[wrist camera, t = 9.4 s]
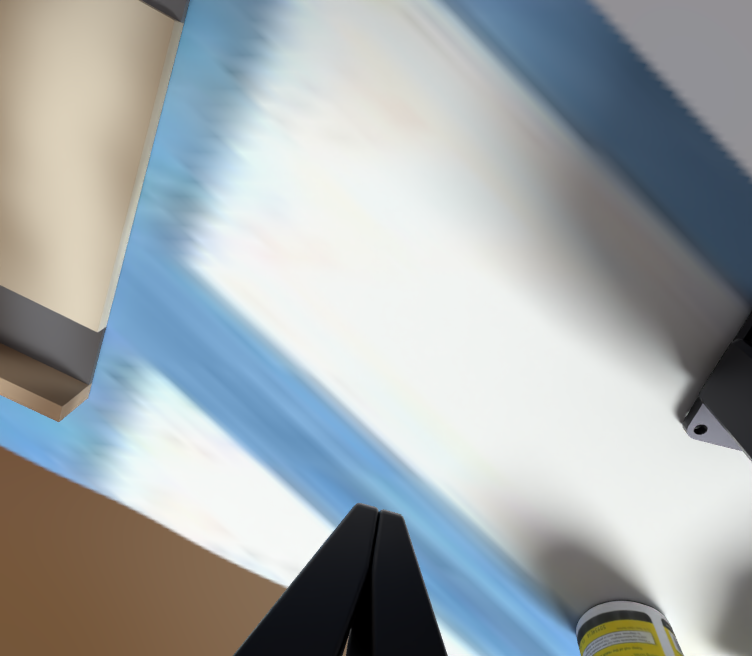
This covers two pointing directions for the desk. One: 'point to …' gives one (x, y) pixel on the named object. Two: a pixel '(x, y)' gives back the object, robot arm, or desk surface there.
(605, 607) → the supplement bottle
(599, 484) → the desk surface
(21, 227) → the wooden rectangular frame
